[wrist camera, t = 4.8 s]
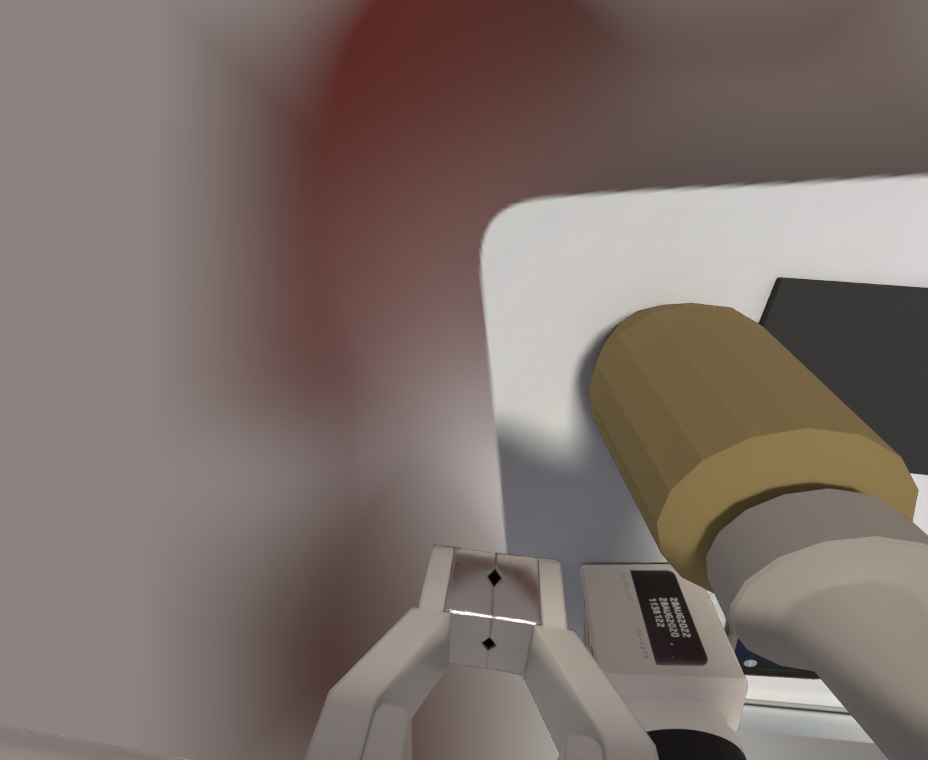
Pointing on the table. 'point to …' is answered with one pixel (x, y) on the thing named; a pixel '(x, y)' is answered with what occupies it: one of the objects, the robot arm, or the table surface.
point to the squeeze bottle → (774, 506)
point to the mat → (863, 352)
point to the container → (665, 657)
